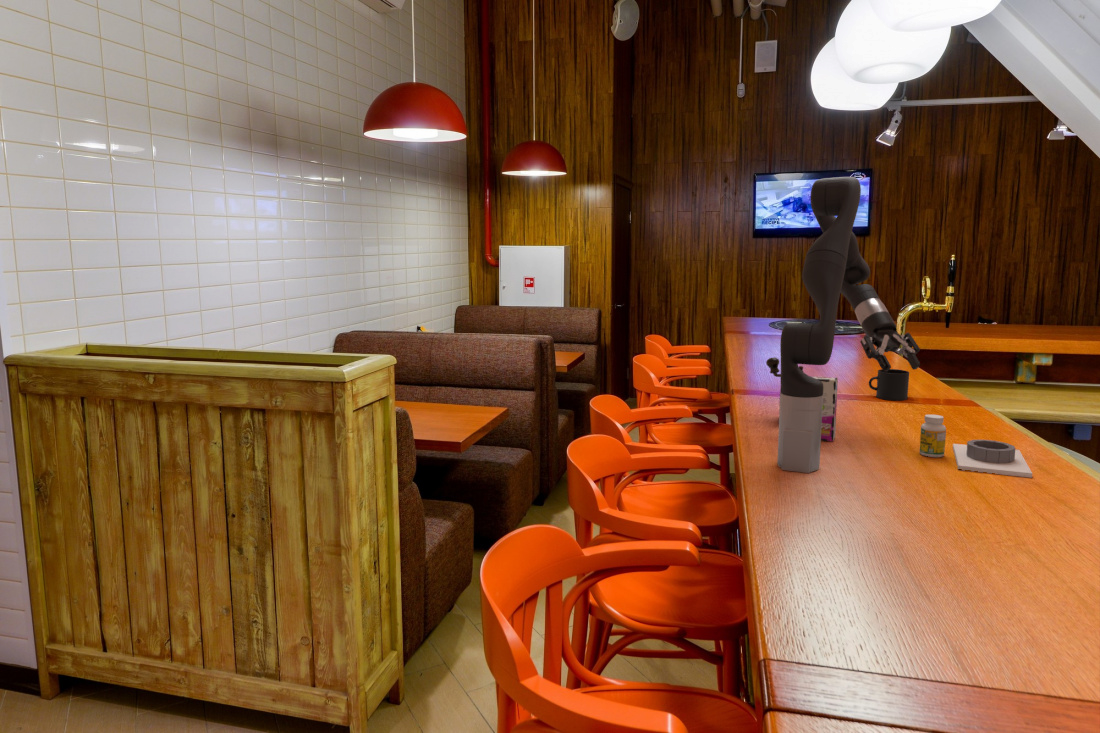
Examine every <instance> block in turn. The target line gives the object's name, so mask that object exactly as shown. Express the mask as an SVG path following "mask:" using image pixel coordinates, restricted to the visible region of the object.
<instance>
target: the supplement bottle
mask: <svg viewBox="0 0 1100 733" xmlns="http://www.w3.org/2000/svg"><path fill="white" fill-rule="evenodd" d="M943 423H944V416H943V415H939V414H925V415H924V423H922V424H921V426H920V437H919V438H920V439H919V440H920V441H919V454H920V455H921V456H924V457H927V456H928V457H929V458H943V457H944V455H945V448H946V436H947V427H946V425H944V424H943ZM928 457H927V458H928Z"/></svg>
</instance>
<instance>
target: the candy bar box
mask: <svg viewBox="0 0 1100 733" xmlns="http://www.w3.org/2000/svg"><path fill="white" fill-rule="evenodd" d="M809 376H810V377H813V378H815V379H817V380H819V381H821V382H822V383H823V388H824V389H823V406H822V425H821V442H830V443H831V442H834V440H835V438H836V430H837V429H836V426H837V403H838V402H837V401H838V381H839V378H838V377H835V376H834V377H832V376H818V375H817V376H815V375H812V376H811V375H809Z"/></svg>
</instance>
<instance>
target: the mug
mask: <svg viewBox="0 0 1100 733" xmlns="http://www.w3.org/2000/svg"><path fill="white" fill-rule="evenodd" d="M874 380H876V381H877V382H876V387H875V386H873V385H872V383H873V381H874ZM909 380H910V372H909V371H908V370H904V369H895V368H890V369H889V370H888V371H884V370H883V369H882V368H880V369H878V370H877V375H876V376H872V377H871V378H870V379H869V380H868V386H869V388H870V389H871V390H874V391H876V398H877V399H880V400H884V401H895V402H896V401H897V402H899V401H900V402H901V401H906V400H908V396H909V382H910V381H909Z"/></svg>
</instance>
